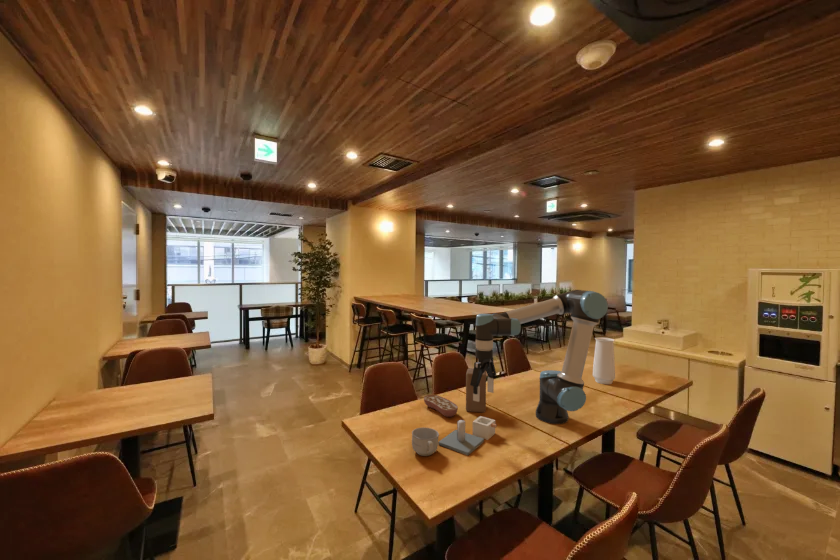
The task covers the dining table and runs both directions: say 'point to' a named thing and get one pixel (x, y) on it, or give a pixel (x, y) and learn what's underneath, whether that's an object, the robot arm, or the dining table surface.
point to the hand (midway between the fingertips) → (483, 396)
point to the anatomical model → (441, 405)
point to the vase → (604, 361)
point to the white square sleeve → (484, 427)
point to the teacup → (424, 441)
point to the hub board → (461, 445)
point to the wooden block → (471, 404)
